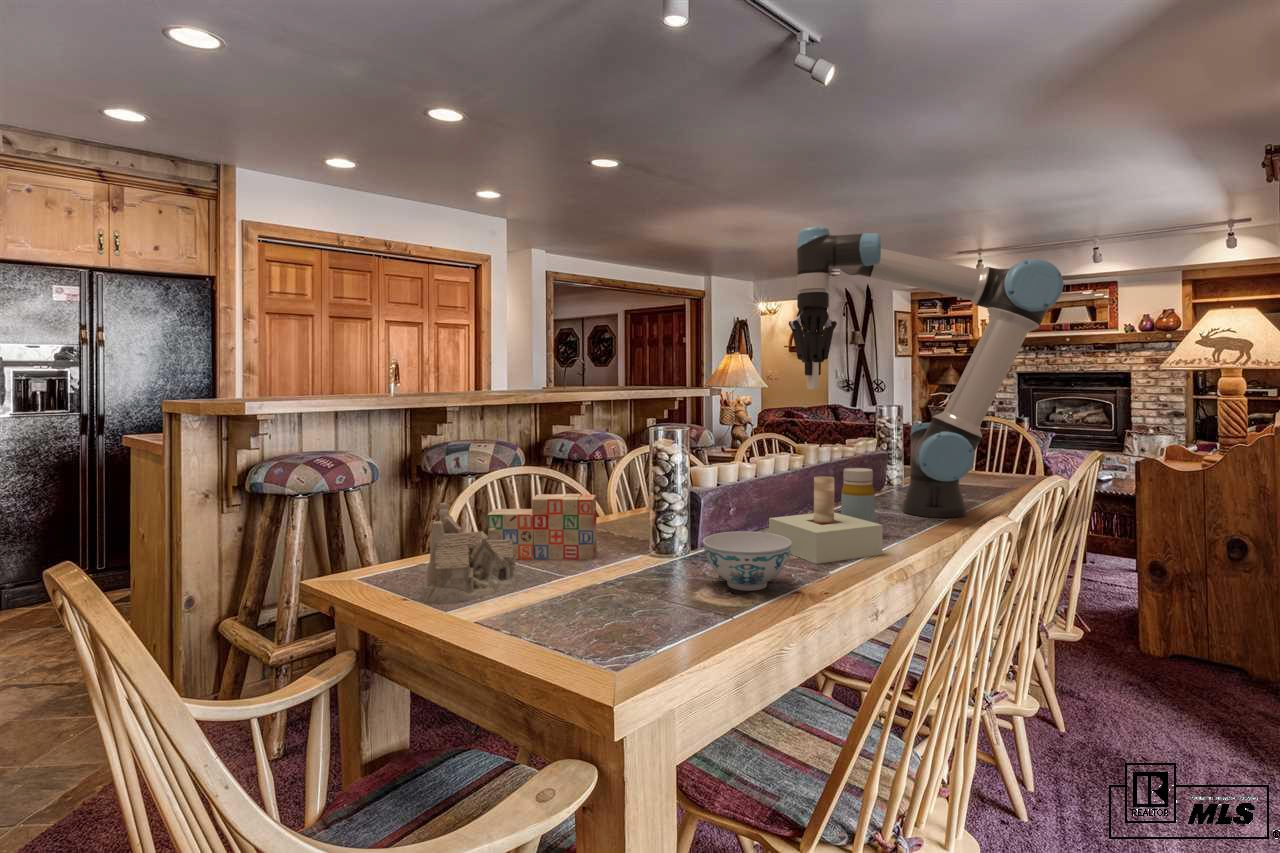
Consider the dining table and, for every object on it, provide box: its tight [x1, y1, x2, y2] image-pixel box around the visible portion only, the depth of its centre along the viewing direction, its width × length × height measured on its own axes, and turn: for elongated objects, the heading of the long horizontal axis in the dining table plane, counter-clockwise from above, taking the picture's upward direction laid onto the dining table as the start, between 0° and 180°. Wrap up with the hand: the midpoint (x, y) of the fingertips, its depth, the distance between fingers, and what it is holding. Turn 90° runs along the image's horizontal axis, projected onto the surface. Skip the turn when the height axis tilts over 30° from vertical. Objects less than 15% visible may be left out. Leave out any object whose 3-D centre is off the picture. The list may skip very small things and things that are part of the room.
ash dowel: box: [813, 475, 835, 525], centre depth 146 cm, size 4×4×14 cm
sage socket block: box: [768, 511, 884, 565], centre depth 147 cm, size 16×16×6 cm
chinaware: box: [702, 530, 792, 592], centre depth 123 cm, size 15×15×8 cm
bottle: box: [840, 467, 876, 523], centre depth 158 cm, size 7×7×15 cm
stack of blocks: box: [486, 493, 597, 560], centre depth 146 cm, size 21×6×12 cm, turn 88°
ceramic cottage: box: [421, 502, 517, 604], centre depth 124 cm, size 16×16×15 cm
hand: (812, 388), depth 178 cm, fingers closed
